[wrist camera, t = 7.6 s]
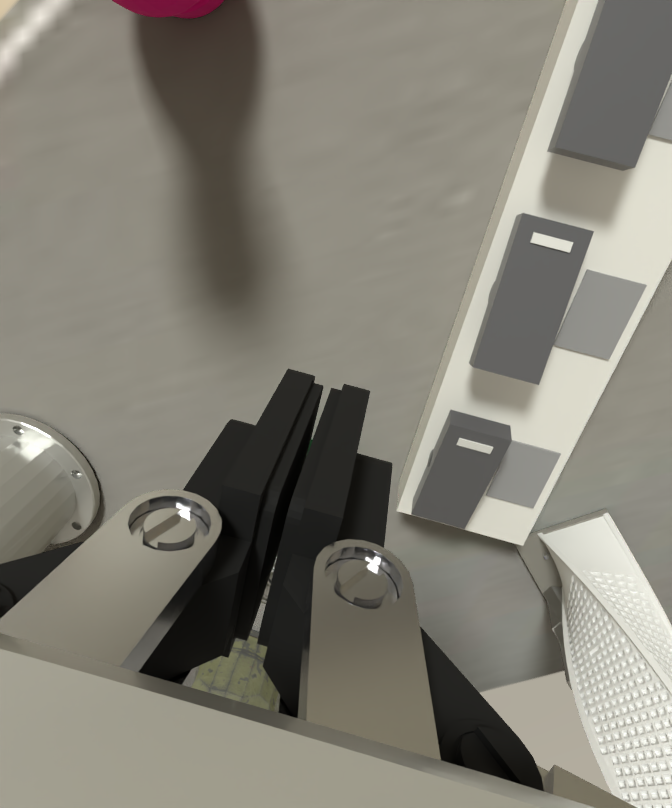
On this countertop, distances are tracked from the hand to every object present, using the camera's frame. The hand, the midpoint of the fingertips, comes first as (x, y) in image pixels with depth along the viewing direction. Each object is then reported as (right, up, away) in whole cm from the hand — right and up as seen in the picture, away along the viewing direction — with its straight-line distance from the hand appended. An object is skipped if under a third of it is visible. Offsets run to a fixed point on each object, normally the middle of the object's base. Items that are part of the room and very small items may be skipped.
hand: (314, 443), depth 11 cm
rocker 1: (+8, -3, +24) cm, 25 cm away
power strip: (+13, +8, +22) cm, 27 cm away
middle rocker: (+10, +6, +18) cm, 22 cm away
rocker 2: (+13, +16, +13) cm, 24 cm away
